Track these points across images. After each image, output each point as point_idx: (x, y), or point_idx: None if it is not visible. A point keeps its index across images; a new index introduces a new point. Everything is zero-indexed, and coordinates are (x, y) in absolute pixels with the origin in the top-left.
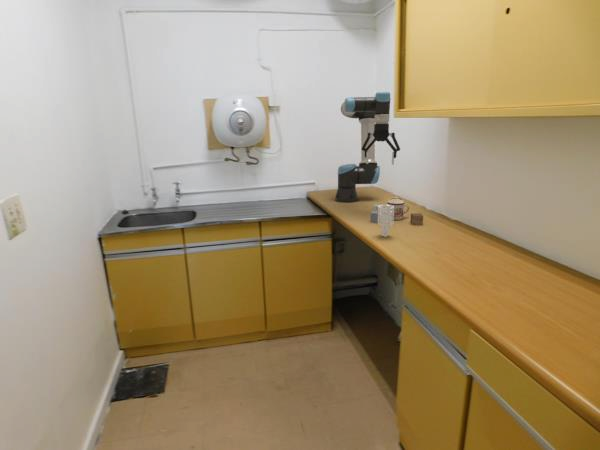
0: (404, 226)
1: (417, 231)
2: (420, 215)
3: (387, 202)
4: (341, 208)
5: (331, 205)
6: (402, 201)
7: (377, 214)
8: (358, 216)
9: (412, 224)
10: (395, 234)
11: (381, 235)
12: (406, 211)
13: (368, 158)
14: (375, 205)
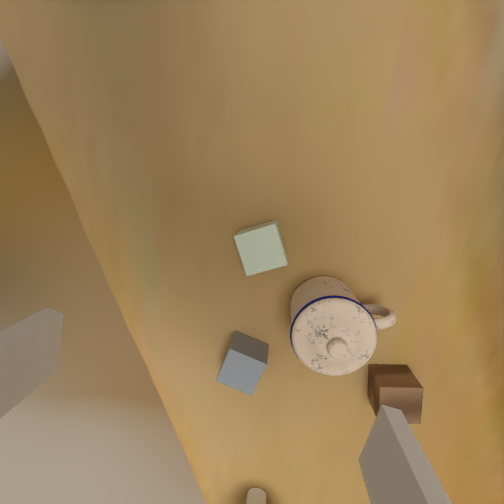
0: (334, 411)
1: None
2: (408, 423)
3: (291, 336)
4: (103, 143)
5: (49, 79)
6: (365, 354)
7: (242, 390)
8: (181, 283)
9: (368, 396)
10: (289, 485)
11: (247, 495)
12: (378, 305)
13: (2, 367)
14: (244, 250)
